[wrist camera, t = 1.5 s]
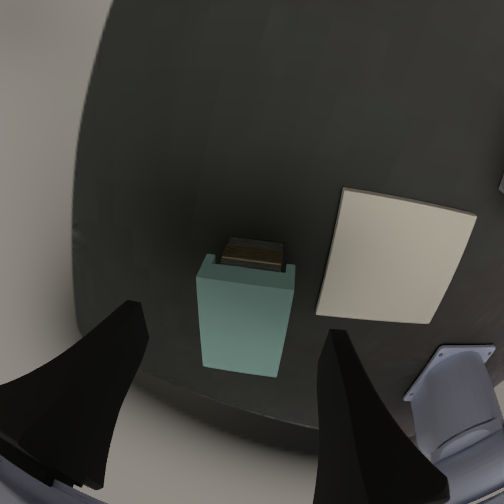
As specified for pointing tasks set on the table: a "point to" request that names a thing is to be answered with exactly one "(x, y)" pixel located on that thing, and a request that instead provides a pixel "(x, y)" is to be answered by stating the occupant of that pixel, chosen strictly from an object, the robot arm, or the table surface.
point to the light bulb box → (502, 185)
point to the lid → (243, 316)
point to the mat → (391, 257)
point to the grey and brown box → (253, 254)
